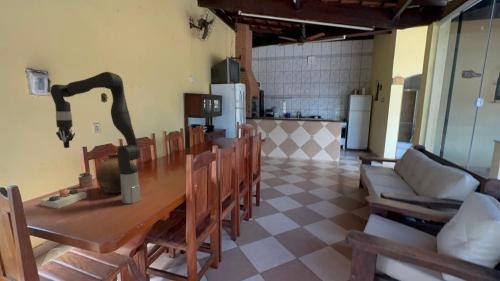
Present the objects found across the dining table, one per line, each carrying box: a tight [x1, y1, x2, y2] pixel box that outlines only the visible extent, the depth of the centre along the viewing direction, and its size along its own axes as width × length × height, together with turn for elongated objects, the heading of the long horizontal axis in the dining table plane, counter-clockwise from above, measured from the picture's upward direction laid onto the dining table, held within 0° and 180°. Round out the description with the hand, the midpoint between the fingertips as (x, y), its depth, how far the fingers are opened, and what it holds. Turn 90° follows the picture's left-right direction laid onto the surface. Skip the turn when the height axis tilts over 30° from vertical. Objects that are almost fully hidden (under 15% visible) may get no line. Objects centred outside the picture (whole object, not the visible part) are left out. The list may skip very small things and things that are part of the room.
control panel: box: [39, 189, 88, 209], centre depth 139 cm, size 13×16×3 cm
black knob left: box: [49, 195, 59, 202], centre depth 134 cm, size 4×4×3 cm
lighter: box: [77, 171, 94, 190], centre depth 162 cm, size 8×3×10 cm, turn 149°
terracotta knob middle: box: [58, 188, 69, 197], centre depth 138 cm, size 4×4×3 cm
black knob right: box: [69, 189, 79, 195], centre depth 144 cm, size 4×4×3 cm
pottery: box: [95, 153, 136, 194], centre depth 155 cm, size 23×23×25 cm
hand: (66, 147), depth 146 cm, fingers closed
